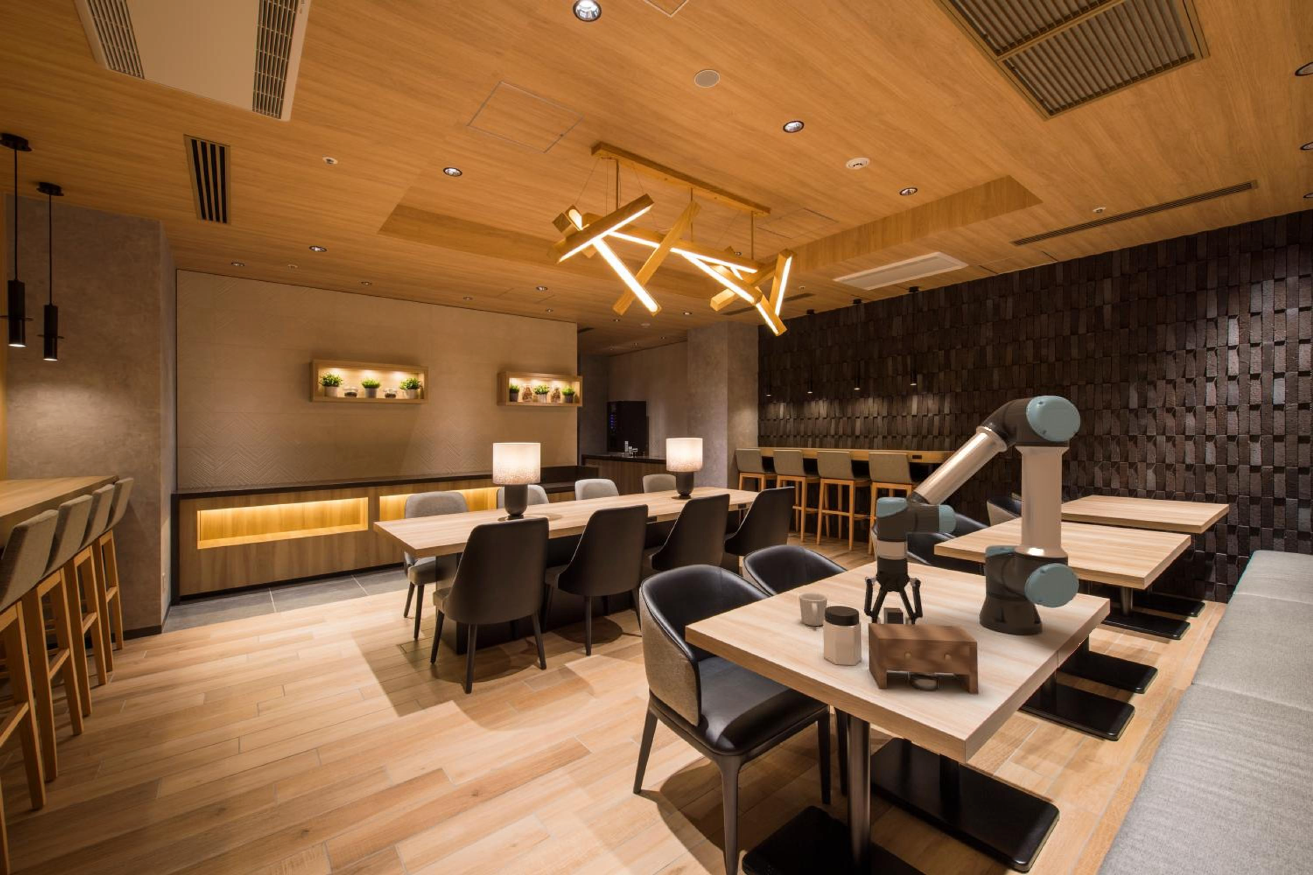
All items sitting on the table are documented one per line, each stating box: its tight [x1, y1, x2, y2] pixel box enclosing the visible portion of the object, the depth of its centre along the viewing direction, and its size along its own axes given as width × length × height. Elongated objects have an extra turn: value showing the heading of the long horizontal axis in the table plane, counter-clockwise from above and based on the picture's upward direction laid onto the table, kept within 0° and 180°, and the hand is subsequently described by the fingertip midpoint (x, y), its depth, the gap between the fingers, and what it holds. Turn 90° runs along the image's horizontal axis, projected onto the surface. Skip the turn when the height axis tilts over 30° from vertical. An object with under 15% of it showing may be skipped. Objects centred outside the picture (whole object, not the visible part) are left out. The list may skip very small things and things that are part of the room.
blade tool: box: [883, 606, 905, 624], centre depth 139 cm, size 4×19×9 cm, turn 171°
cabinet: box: [867, 622, 979, 695], centre depth 124 cm, size 20×11×11 cm, turn 81°
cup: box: [798, 592, 828, 627], centre depth 163 cm, size 11×8×8 cm
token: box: [908, 672, 940, 692], centre depth 122 cm, size 6×6×2 cm
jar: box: [822, 605, 863, 666], centre depth 137 cm, size 9×8×12 cm
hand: (893, 642), depth 147 cm, fingers open, 7 cm apart
